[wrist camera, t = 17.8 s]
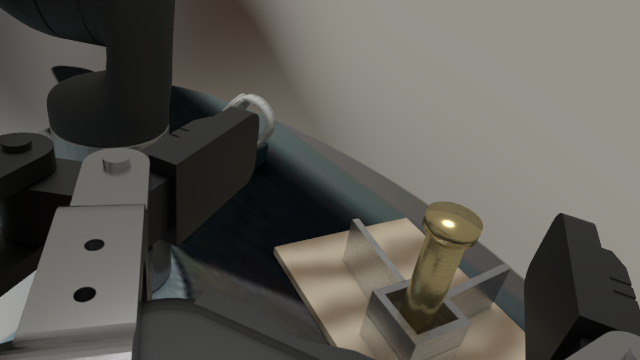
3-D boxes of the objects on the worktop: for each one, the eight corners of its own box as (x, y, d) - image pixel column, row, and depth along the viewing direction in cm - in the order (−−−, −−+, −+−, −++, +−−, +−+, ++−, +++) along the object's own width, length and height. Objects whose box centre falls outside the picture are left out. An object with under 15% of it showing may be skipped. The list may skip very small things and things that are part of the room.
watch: (232, 148, 73) (236, 83, 68) (275, 164, 71) (284, 99, 65) (211, 161, 69) (214, 93, 63) (257, 179, 67) (264, 111, 61)
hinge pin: (372, 339, 44) (415, 207, 36) (407, 326, 46) (455, 197, 38) (400, 377, 41) (453, 241, 32) (436, 360, 43) (494, 229, 35)
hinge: (313, 267, 51) (321, 225, 48) (421, 239, 59) (434, 202, 56) (397, 389, 40) (416, 345, 37) (518, 334, 48) (541, 294, 44)
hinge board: (273, 253, 54) (274, 247, 53) (404, 223, 63) (406, 217, 63) (399, 455, 36) (402, 449, 35) (554, 371, 46) (558, 365, 45)
